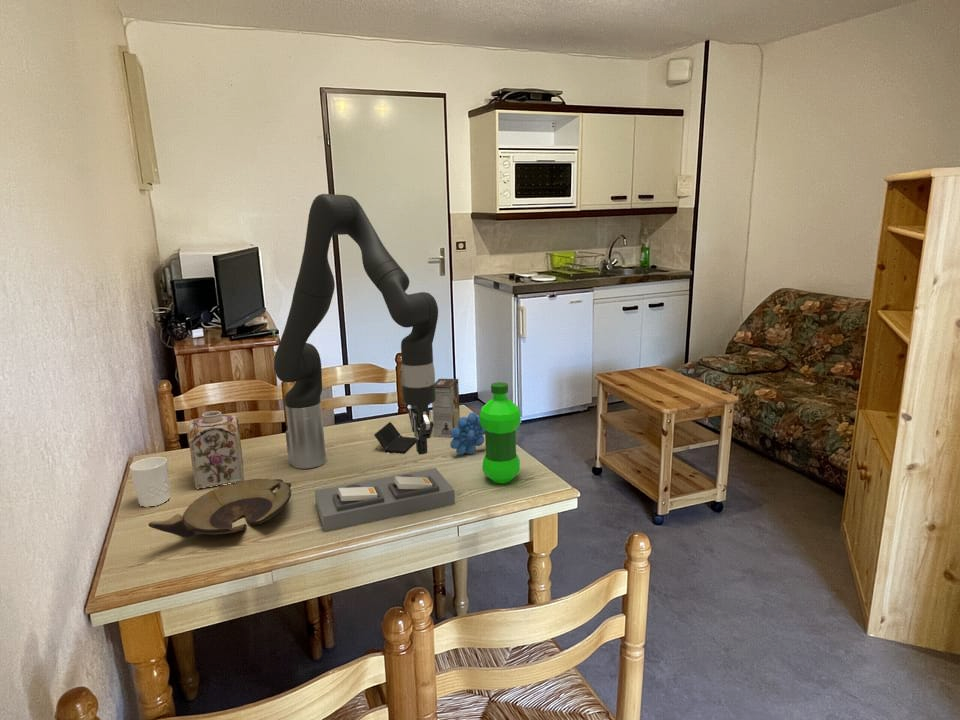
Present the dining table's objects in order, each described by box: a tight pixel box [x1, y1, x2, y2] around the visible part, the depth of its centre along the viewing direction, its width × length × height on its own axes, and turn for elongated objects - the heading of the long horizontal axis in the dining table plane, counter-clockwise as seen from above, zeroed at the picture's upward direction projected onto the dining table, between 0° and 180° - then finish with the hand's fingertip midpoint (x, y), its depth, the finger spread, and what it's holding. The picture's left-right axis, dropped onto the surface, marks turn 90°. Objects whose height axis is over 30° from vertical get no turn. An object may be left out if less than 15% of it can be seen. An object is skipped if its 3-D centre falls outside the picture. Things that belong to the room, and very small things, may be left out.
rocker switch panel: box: [314, 467, 456, 532], centre depth 142 cm, size 30×14×4 cm, turn 112°
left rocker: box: [338, 487, 378, 501], centre depth 137 cm, size 8×4×1 cm, turn 112°
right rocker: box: [394, 476, 433, 489], centre depth 142 cm, size 8×4×1 cm, turn 112°
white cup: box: [129, 456, 171, 507], centre depth 147 cm, size 8×8×10 cm
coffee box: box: [431, 378, 461, 438], centre depth 187 cm, size 9×6×16 cm
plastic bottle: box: [479, 381, 522, 484], centre depth 152 cm, size 10×10×25 cm
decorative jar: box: [187, 410, 245, 489], centre depth 158 cm, size 12×12×18 cm
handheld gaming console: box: [373, 421, 416, 455], centre depth 178 cm, size 12×7×10 cm
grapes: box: [450, 412, 485, 456], centre depth 170 cm, size 12×7×12 cm, turn 117°
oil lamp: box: [148, 478, 292, 538], centre depth 135 cm, size 22×30×8 cm
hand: (422, 452), depth 142 cm, fingers closed
